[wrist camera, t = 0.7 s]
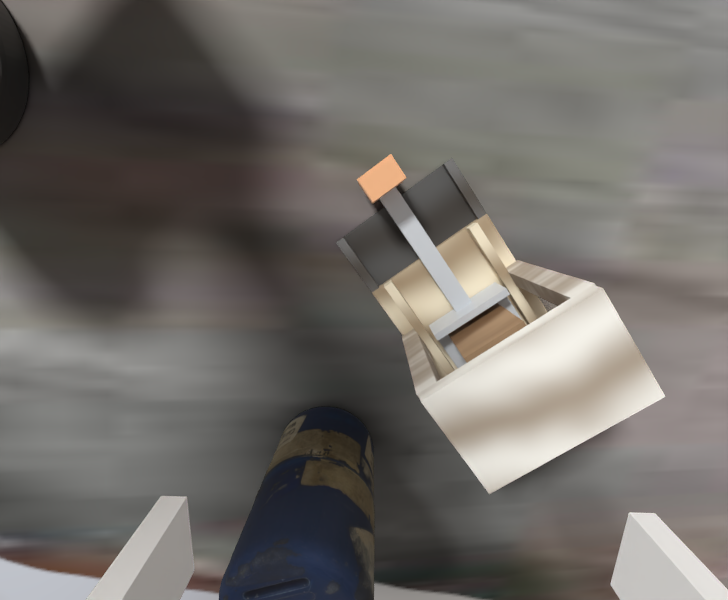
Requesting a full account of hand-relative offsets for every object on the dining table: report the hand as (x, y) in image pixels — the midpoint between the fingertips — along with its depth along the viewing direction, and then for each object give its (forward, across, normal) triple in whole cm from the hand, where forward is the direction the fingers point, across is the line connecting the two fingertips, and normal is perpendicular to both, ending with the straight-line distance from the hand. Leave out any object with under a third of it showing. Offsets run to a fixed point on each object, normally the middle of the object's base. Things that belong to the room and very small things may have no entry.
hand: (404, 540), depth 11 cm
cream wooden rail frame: (+24, +8, 0) cm, 25 cm away
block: (+21, +9, -1) cm, 23 cm away
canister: (+24, -5, -14) cm, 28 cm away
